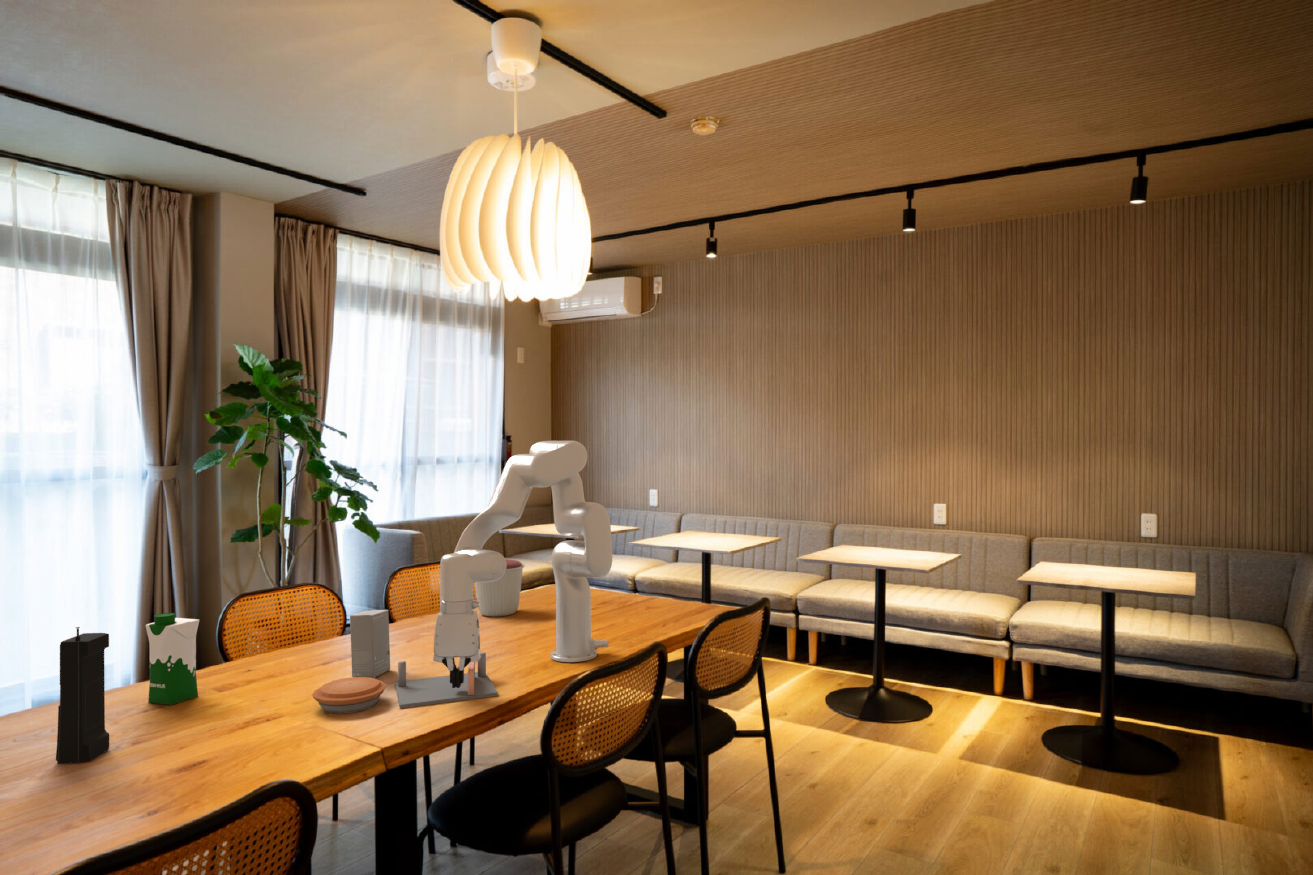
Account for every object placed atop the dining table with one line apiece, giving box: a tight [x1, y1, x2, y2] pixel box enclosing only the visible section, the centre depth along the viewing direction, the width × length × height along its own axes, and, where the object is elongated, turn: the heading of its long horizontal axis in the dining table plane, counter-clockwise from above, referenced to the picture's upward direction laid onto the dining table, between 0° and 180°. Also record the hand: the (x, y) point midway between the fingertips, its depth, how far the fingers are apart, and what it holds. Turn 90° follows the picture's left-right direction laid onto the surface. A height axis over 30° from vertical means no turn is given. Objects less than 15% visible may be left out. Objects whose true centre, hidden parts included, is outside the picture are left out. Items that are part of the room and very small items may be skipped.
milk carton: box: [145, 612, 200, 706], centre depth 181 cm, size 9×9×20 cm
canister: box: [474, 552, 525, 617], centre depth 270 cm, size 18×18×21 cm
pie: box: [311, 677, 387, 714], centre depth 176 cm, size 16×16×5 cm
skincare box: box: [349, 609, 391, 679], centre depth 200 cm, size 8×7×16 cm
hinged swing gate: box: [394, 651, 499, 709], centre depth 185 cm, size 22×18×6 cm
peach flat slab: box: [467, 661, 476, 695], centre depth 186 cm, size 16×1×5 cm, turn 12°
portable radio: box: [55, 626, 110, 765], centre depth 148 cm, size 8×6×25 cm
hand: (456, 686), depth 182 cm, fingers closed
